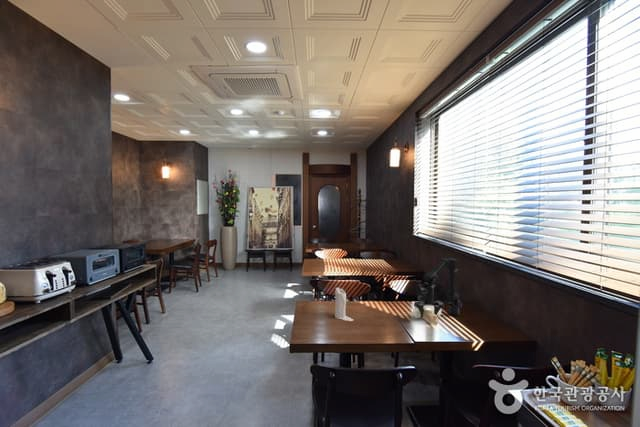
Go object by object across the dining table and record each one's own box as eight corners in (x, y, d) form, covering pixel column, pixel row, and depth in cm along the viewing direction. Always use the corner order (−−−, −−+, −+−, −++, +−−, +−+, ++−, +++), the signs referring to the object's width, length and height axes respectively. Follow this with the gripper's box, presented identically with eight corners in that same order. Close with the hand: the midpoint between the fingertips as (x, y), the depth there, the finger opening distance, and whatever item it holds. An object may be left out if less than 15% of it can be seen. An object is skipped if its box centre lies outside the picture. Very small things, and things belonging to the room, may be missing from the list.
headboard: (440, 314, 227) (440, 302, 227) (444, 316, 221) (444, 304, 221) (412, 315, 223) (412, 303, 223) (416, 318, 217) (416, 305, 217)
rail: (425, 316, 222) (425, 308, 222) (437, 324, 206) (437, 316, 206) (419, 316, 221) (419, 308, 221) (431, 324, 206) (431, 316, 206)
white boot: (350, 322, 207) (351, 291, 207) (332, 317, 215) (333, 287, 215) (356, 319, 213) (356, 289, 212) (338, 314, 221) (339, 285, 221)
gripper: (435, 290, 223) (434, 312, 223) (410, 291, 219) (409, 313, 220) (444, 294, 212) (443, 318, 212) (418, 295, 208) (417, 319, 209)
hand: (428, 317), depth 213 cm, fingers open, 9 cm apart
